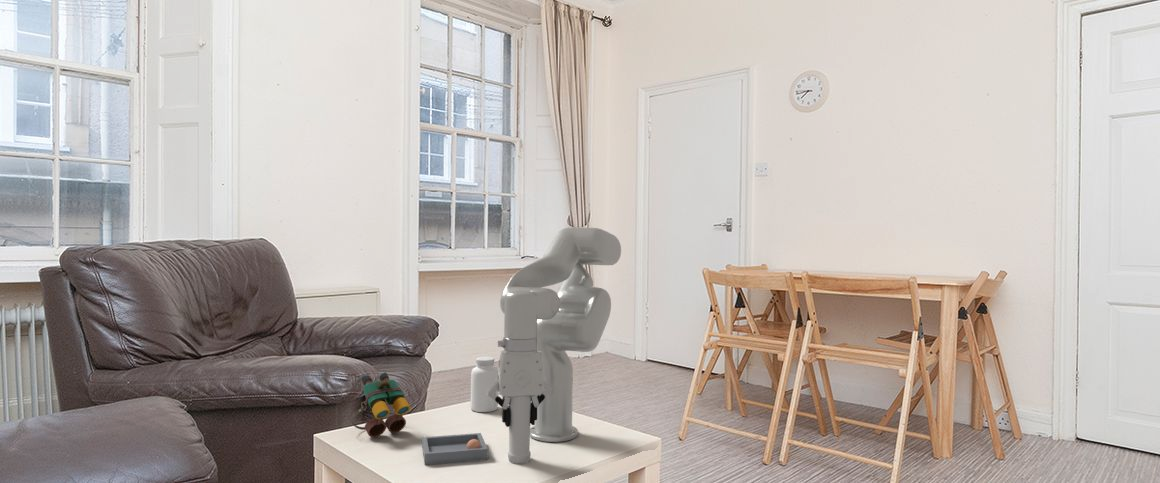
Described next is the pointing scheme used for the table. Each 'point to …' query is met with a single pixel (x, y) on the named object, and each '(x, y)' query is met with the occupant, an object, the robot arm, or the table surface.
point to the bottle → (519, 429)
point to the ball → (473, 444)
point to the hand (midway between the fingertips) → (519, 423)
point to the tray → (452, 449)
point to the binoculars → (383, 405)
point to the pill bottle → (483, 385)
